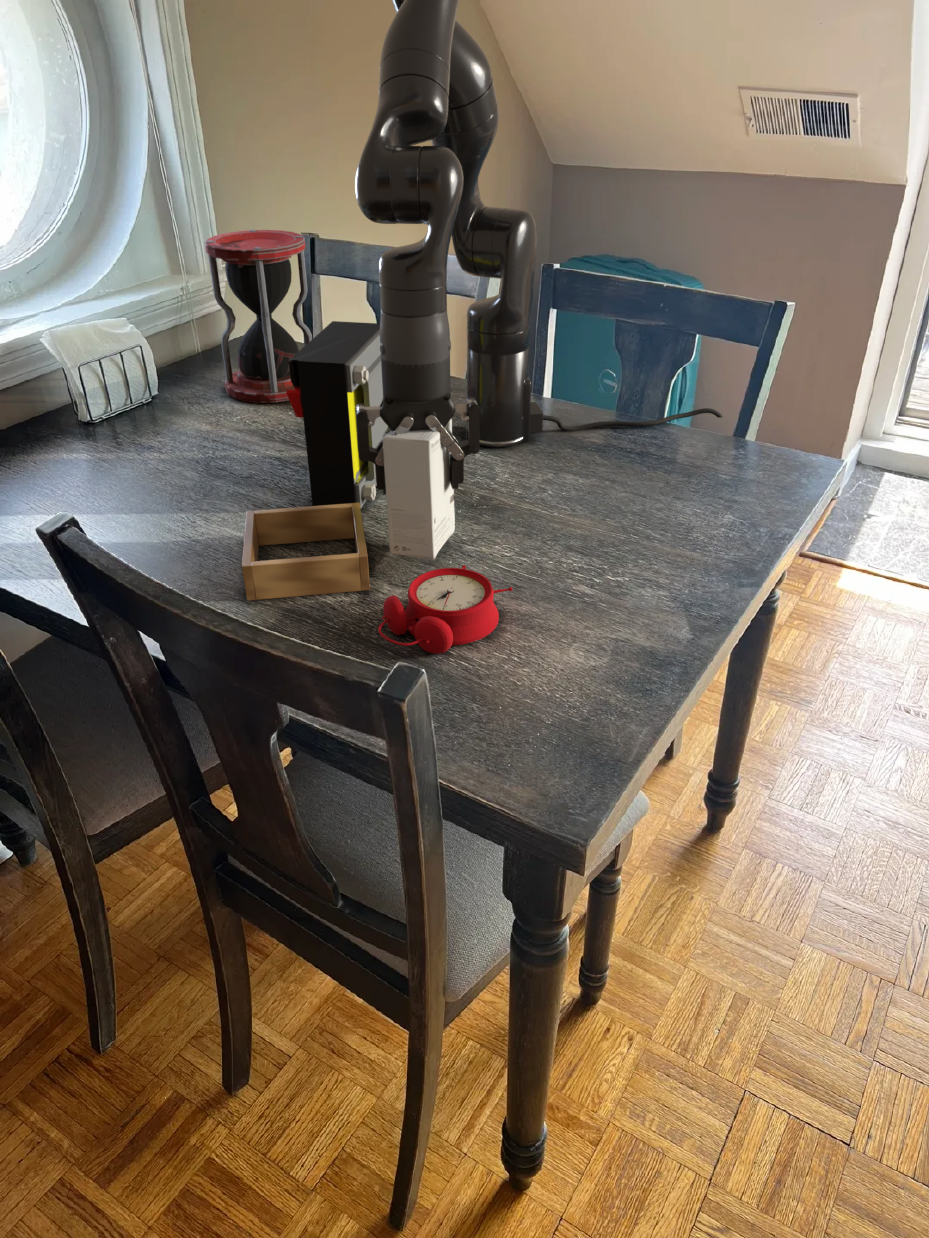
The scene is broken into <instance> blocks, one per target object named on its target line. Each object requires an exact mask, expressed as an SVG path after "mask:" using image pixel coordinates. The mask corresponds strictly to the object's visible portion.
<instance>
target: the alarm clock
mask: <svg viewBox="0 0 929 1238" xmlns="http://www.w3.org/2000/svg"><path fill="white" fill-rule="evenodd" d="M508 591H509V592H512V591H513V587H511V586H509V588H503V589H501V588H500V589H495V590H494V588H493V585H492V583H491V581H490V580H489V579H488V577H486V576H484V575H483V574H482V573H479V572H477V571H474V570H471V569H467V566H466V565H465V564H464V565H462V566H461V568H460V567H443V568H437V569H433V570H429V571H426V572H424V573H422V574H420V575H418V576H417V577H416V578H414V579H413V580H412V581H411V582H410V584H409V586H408V589H407V602H408V603H407V606H406V607H405V608H404V606H403V603H402V602H401V599H400V598H399V597H398V596H397V595H390V596H388V597H387V598H386V599H385V600H384V602H383V607H382V609H383V611H382V612H383V616H381V620H384V621H383V622H381V623H380V625H378V628H377V629H378V630H377V632H378V634H379V635H380V636H381V637H382V638H383V639H385V640H386V641H387V642H390V643H392V644H394V645H397V646H403V647H408V646H413V645H416V644H417V645H418V646H419V647H420V648H421V649H422V650H423V651H425V652H427V653H429V654H435V655H438V654H439V655H440V654H444V653H446V652H447V651H448V650H449V649H450V648H451V647H452V646H459V645H465V644H470V643H471V644H472V643H474V642H477V641H480V640H482V639H483V638H486V637H487V636H489V635H491V633H492V632H494V630H495V629H496V628H497V626H498V624H499V619H500V614H499V610H498V608H497V606H496V605H495V602H494V594H499V593H503V592H508ZM385 624H386V625H387V628H388V629H389V630H390V631H391V633H393V634H394V635H398V636H402V635H405V634H406V633H407V631H408V632H409V634H410V635H412V636H414V639H415V641H412V642H404V643H403V642H399V641H397V640H394V639H391V638H390V637H388V636H386V635H385V634H384V633H383V632H382V627H383V626H384V625H385Z"/></svg>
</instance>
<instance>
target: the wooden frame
mask: <svg viewBox="0 0 929 1238" xmlns="http://www.w3.org/2000/svg"><path fill="white" fill-rule="evenodd" d="M362 515H363V514H362V508H360V503H349V504H335V505H322V506H312V505H311V506H296V507H283V508H270V509H268V508H267V509H255V510H246V511H245V523H244V534H243V535H244V536H243V546H242V559H241V571H242V576H243V577H242V578H243V584H244V590H245V596H246V601H247V602H248V601H249V602H250V601H258V600H270V599H271V600H272V599H283V598H284V599H285V598H292V597H293V598H294V597H305V596H307V597H308V596H316V595H327V594H329V595H330V594H340V593H341V594H342V593H353V592H363V591H371V586H370V585H371V584H370V569H369V558H368V549H367V543H366V537H365V531H364V523H363V522H364V521H363V516H362ZM350 539H354V545H355V551H356V552H353V553H344V554H343V553H342V554H330V555H329V554H328V555H317V556H305V557H293V558H279V559H268V560H259V546H260V547H261V546H270V545H271V546H274V545H287V544H299V543H311V542H313V543H314V542H323V541H336V540H350Z"/></svg>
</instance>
